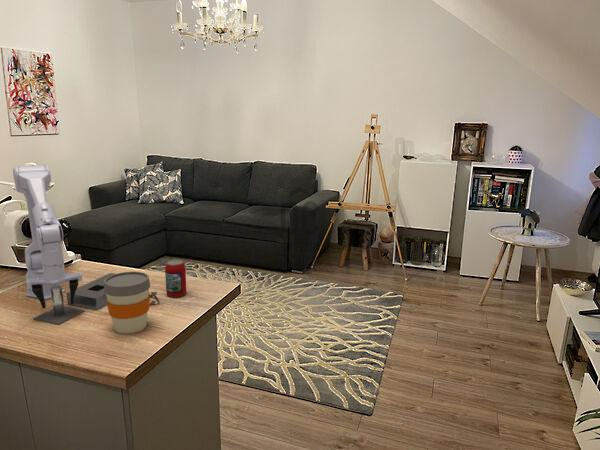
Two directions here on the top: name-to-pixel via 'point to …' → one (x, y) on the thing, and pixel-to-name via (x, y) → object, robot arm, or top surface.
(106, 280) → the reusable coffee cup
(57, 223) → the robot arm
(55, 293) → the steel pin
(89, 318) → the top surface
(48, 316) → the rubber mat
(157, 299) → the wooden post with brackets
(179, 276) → the beverage can
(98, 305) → the block
